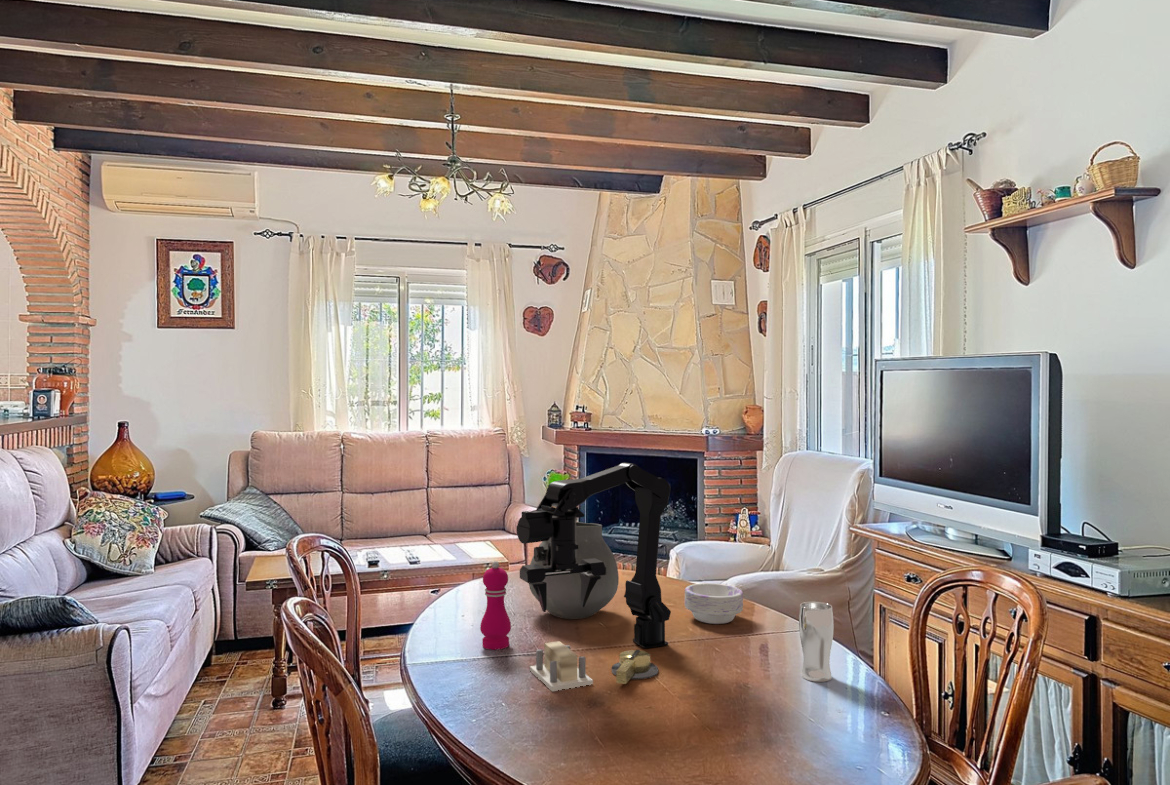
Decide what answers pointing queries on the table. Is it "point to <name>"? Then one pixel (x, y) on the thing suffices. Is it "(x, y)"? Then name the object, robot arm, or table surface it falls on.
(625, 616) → the table surface
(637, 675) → the base
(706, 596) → the paper bowls
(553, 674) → the peg rack
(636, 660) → the brass lever handle
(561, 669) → the beech bar
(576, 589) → the ceramic pot
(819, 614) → the beer glass
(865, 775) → the table surface
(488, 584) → the pepper mill
